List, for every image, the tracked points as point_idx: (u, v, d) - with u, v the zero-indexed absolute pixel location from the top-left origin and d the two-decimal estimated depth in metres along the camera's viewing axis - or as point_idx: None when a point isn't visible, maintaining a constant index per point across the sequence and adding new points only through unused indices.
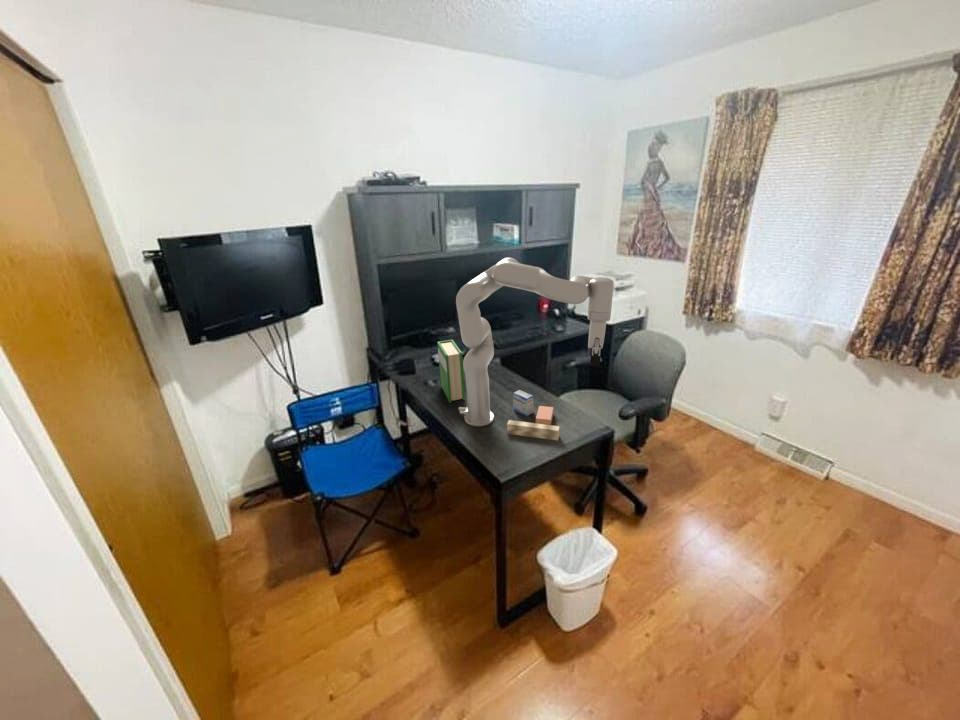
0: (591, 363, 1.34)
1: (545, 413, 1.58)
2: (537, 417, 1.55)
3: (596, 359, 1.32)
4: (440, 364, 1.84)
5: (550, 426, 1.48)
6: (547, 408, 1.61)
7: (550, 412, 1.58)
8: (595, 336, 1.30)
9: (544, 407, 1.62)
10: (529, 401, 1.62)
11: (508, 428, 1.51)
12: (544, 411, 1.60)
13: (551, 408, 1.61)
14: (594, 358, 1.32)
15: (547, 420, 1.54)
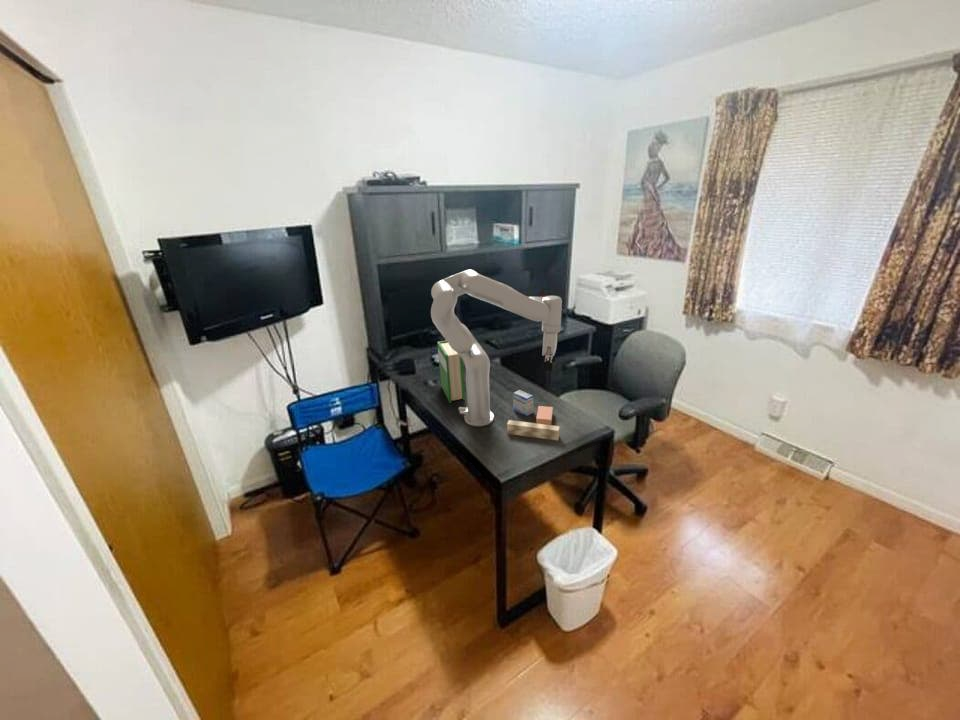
0: (545, 368, 1.57)
1: (545, 413, 1.58)
2: (537, 417, 1.55)
3: (549, 365, 1.55)
4: (440, 364, 1.84)
5: (550, 426, 1.48)
6: (547, 408, 1.62)
7: (550, 412, 1.59)
8: (547, 345, 1.53)
9: (544, 407, 1.62)
10: (529, 401, 1.62)
11: (508, 428, 1.51)
12: (544, 411, 1.60)
13: (551, 408, 1.61)
14: (547, 364, 1.55)
15: (548, 420, 1.54)
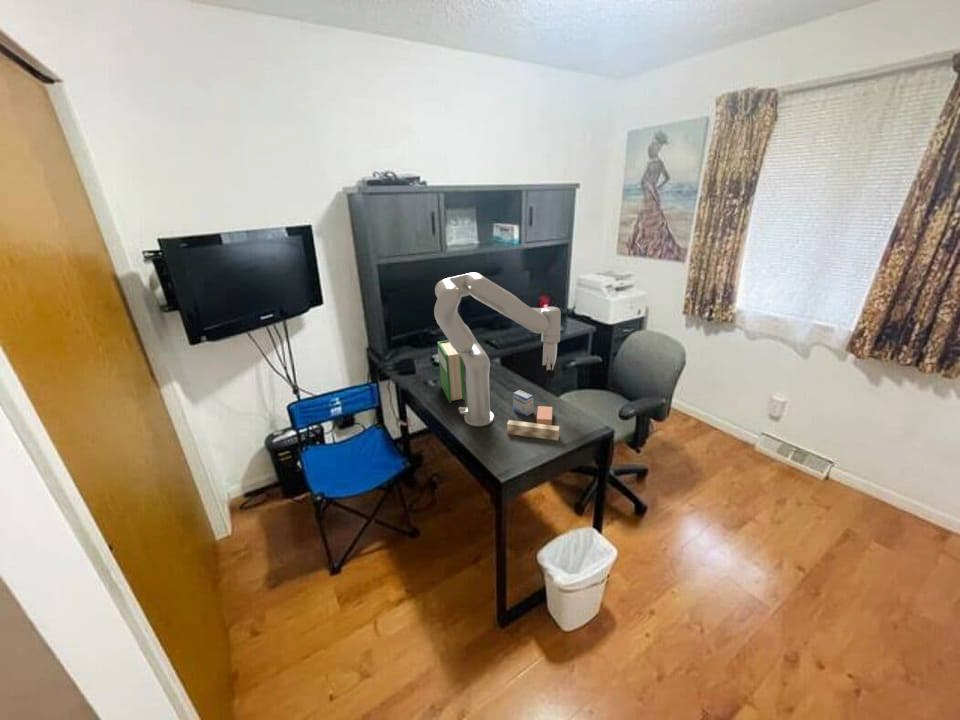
0: (547, 376, 1.63)
1: (545, 413, 1.58)
2: (538, 417, 1.55)
3: (550, 372, 1.61)
4: (440, 364, 1.84)
5: (550, 426, 1.48)
6: (546, 408, 1.62)
7: (550, 412, 1.59)
8: (547, 356, 1.55)
9: (543, 407, 1.62)
10: (529, 401, 1.62)
11: (508, 428, 1.51)
12: (544, 411, 1.60)
13: (550, 408, 1.62)
14: (549, 372, 1.61)
15: (548, 420, 1.54)
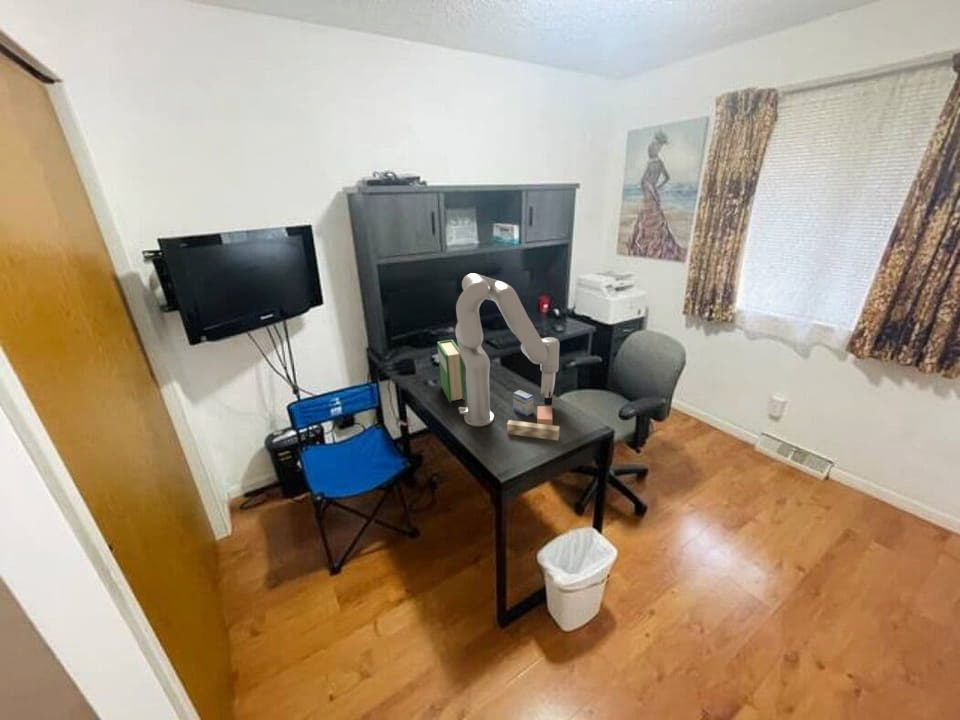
0: (545, 403, 1.68)
1: (546, 413, 1.58)
2: (538, 418, 1.55)
3: (548, 400, 1.67)
4: (440, 364, 1.84)
5: (550, 426, 1.48)
6: (546, 408, 1.62)
7: (550, 412, 1.59)
8: (545, 384, 1.60)
9: (543, 407, 1.62)
10: (529, 401, 1.62)
11: (508, 428, 1.51)
12: (544, 411, 1.60)
13: (550, 408, 1.62)
14: (547, 399, 1.67)
15: (549, 420, 1.54)
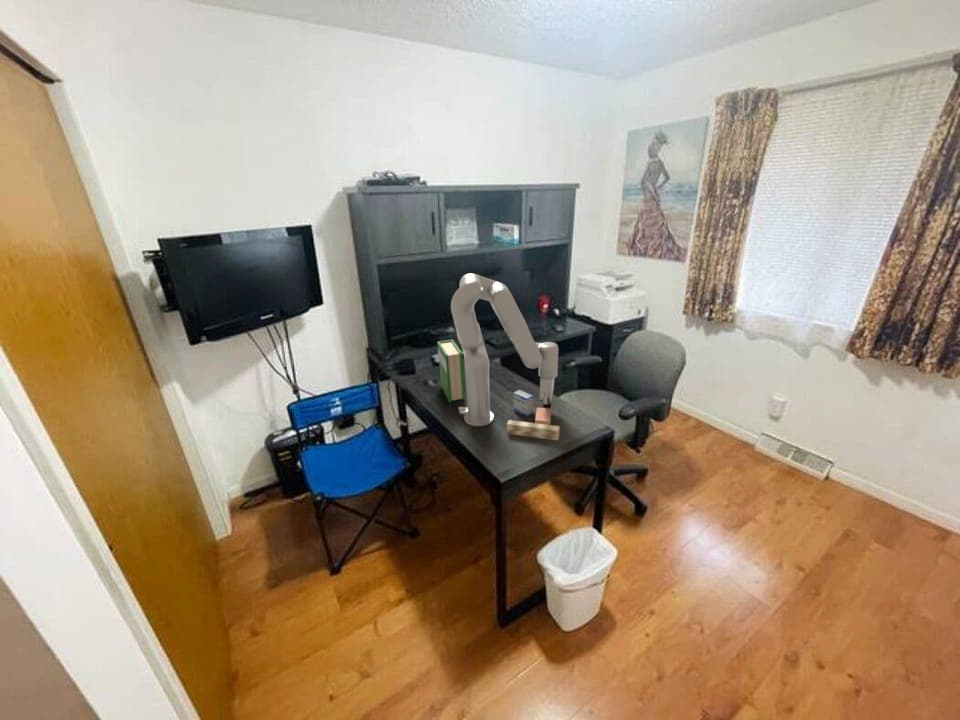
0: None
1: (544, 415, 1.57)
2: (536, 419, 1.54)
3: (547, 406, 1.62)
4: (440, 364, 1.84)
5: (550, 426, 1.48)
6: (545, 409, 1.60)
7: (549, 413, 1.57)
8: (544, 390, 1.55)
9: (542, 409, 1.61)
10: (529, 401, 1.62)
11: (508, 428, 1.51)
12: (542, 412, 1.58)
13: (549, 409, 1.60)
14: (545, 405, 1.62)
15: (547, 421, 1.53)
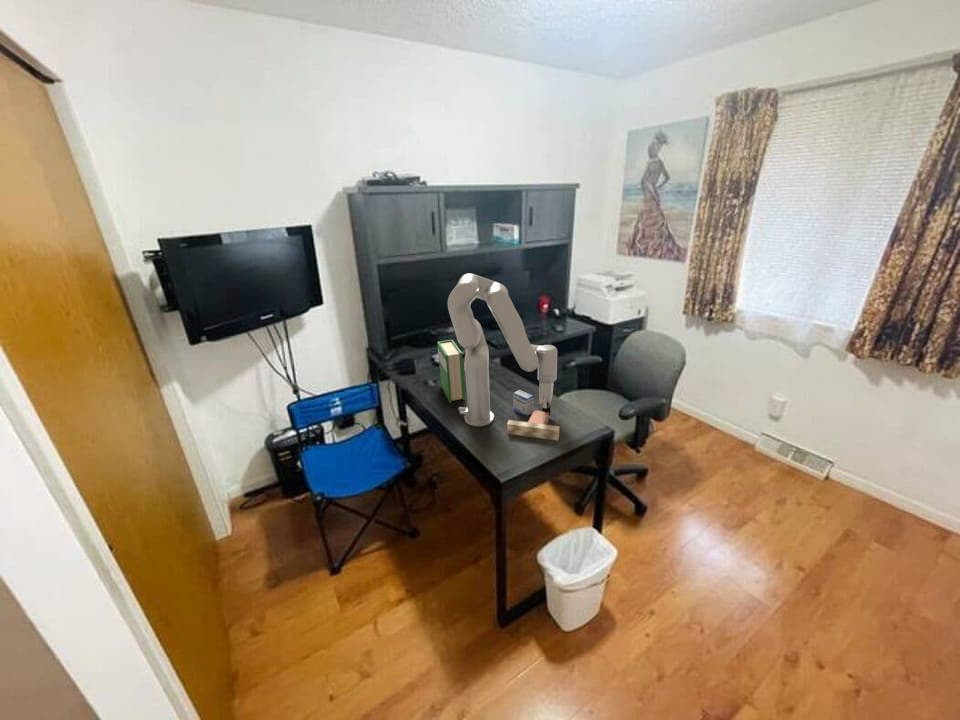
0: None
1: (539, 418, 1.54)
2: (529, 421, 1.52)
3: (546, 410, 1.59)
4: (440, 364, 1.84)
5: (550, 426, 1.48)
6: (542, 413, 1.58)
7: (544, 417, 1.55)
8: (543, 394, 1.52)
9: (539, 412, 1.58)
10: (529, 401, 1.62)
11: (508, 428, 1.51)
12: (538, 416, 1.56)
13: (546, 413, 1.57)
14: (545, 409, 1.59)
15: None
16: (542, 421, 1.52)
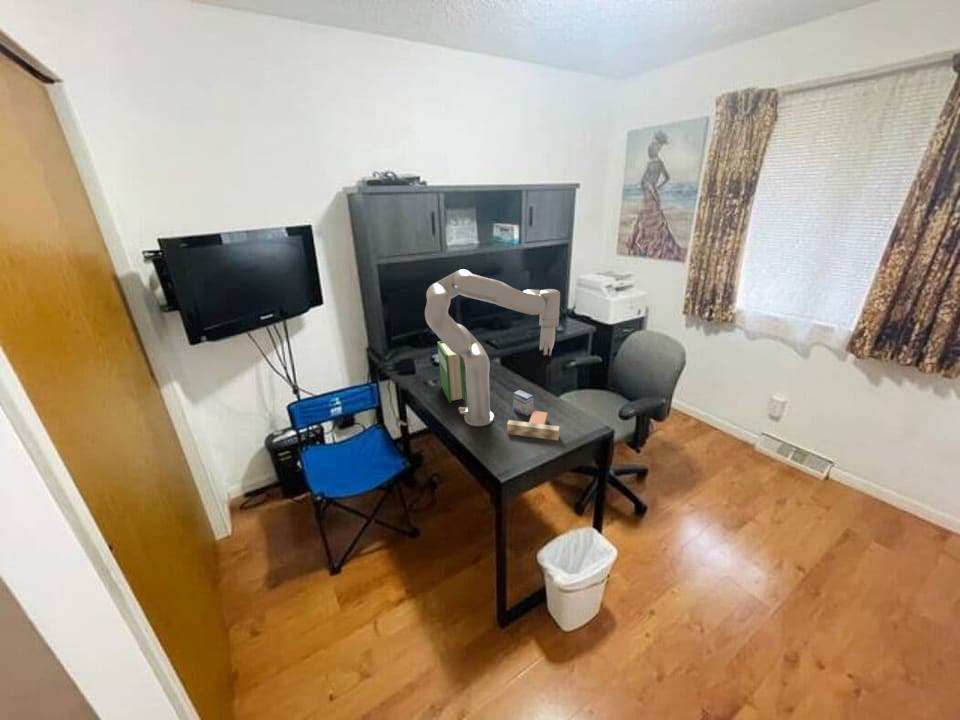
0: (544, 362, 1.58)
1: (539, 419, 1.54)
2: (530, 422, 1.52)
3: (547, 358, 1.56)
4: (440, 364, 1.84)
5: (550, 426, 1.48)
6: (541, 413, 1.58)
7: (544, 417, 1.55)
8: (544, 340, 1.49)
9: (538, 413, 1.58)
10: (529, 401, 1.62)
11: (508, 428, 1.51)
12: (537, 416, 1.56)
13: (545, 413, 1.58)
14: (546, 357, 1.56)
15: None
16: (542, 421, 1.52)
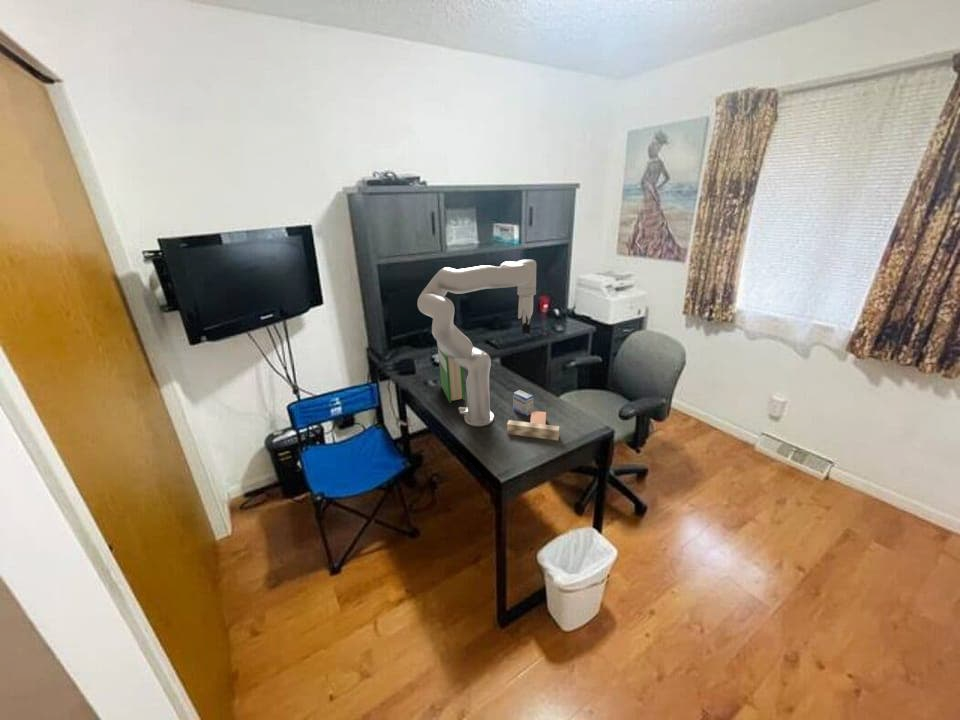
0: (523, 331, 1.64)
1: (539, 419, 1.54)
2: None
3: (526, 327, 1.62)
4: (440, 364, 1.84)
5: (550, 426, 1.48)
6: (540, 413, 1.58)
7: (543, 417, 1.55)
8: (522, 308, 1.56)
9: (537, 413, 1.59)
10: (529, 401, 1.62)
11: (508, 428, 1.51)
12: (537, 416, 1.56)
13: (544, 413, 1.58)
14: (525, 326, 1.62)
15: None
16: (543, 421, 1.53)
